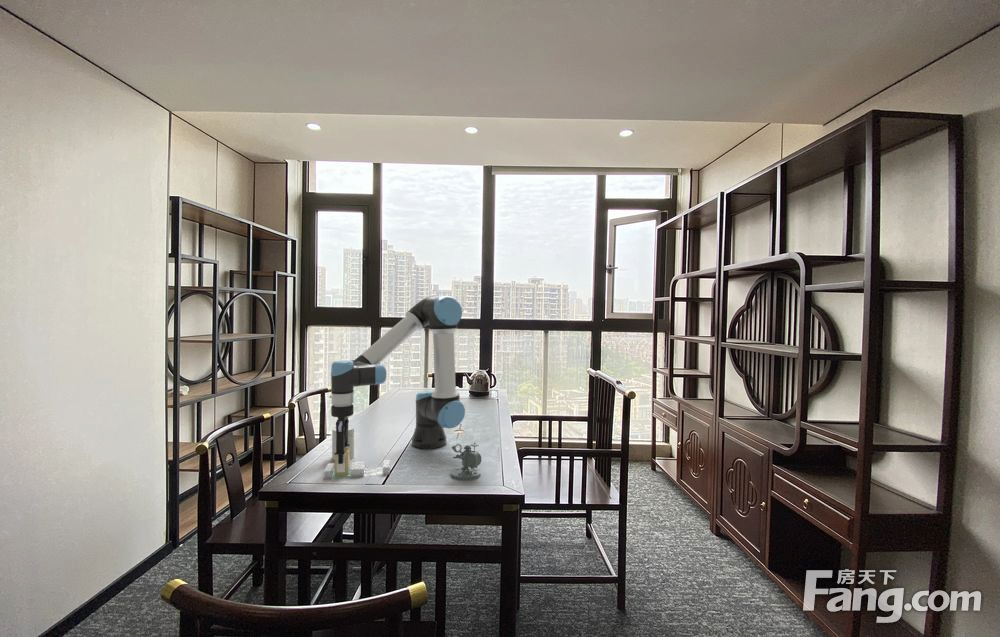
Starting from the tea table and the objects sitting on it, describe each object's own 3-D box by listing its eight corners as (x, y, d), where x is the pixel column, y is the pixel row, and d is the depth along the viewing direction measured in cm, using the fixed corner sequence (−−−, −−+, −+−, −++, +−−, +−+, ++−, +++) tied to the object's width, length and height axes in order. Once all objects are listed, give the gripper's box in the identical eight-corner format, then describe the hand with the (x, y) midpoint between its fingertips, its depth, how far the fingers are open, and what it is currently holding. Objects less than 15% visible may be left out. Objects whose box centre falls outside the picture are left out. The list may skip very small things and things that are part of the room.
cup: (347, 462, 173) (347, 431, 173) (328, 461, 175) (328, 430, 175) (357, 455, 181) (357, 426, 181) (339, 454, 183) (339, 424, 183)
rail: (390, 467, 169) (390, 459, 169) (389, 475, 161) (389, 467, 161) (327, 471, 164) (327, 463, 164) (324, 479, 156) (324, 471, 156)
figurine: (462, 467, 169) (462, 436, 169) (486, 473, 164) (486, 440, 163) (444, 476, 160) (445, 443, 160) (469, 483, 155) (470, 448, 154)
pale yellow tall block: (349, 470, 164) (349, 447, 164) (348, 474, 159) (348, 451, 159) (336, 470, 163) (336, 448, 163) (334, 475, 159) (334, 452, 158)
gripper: (335, 399, 169) (335, 460, 170) (326, 410, 150) (326, 479, 151) (356, 398, 171) (356, 459, 171) (350, 410, 152) (350, 477, 153)
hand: (342, 468), depth 161 cm, fingers open, 6 cm apart
